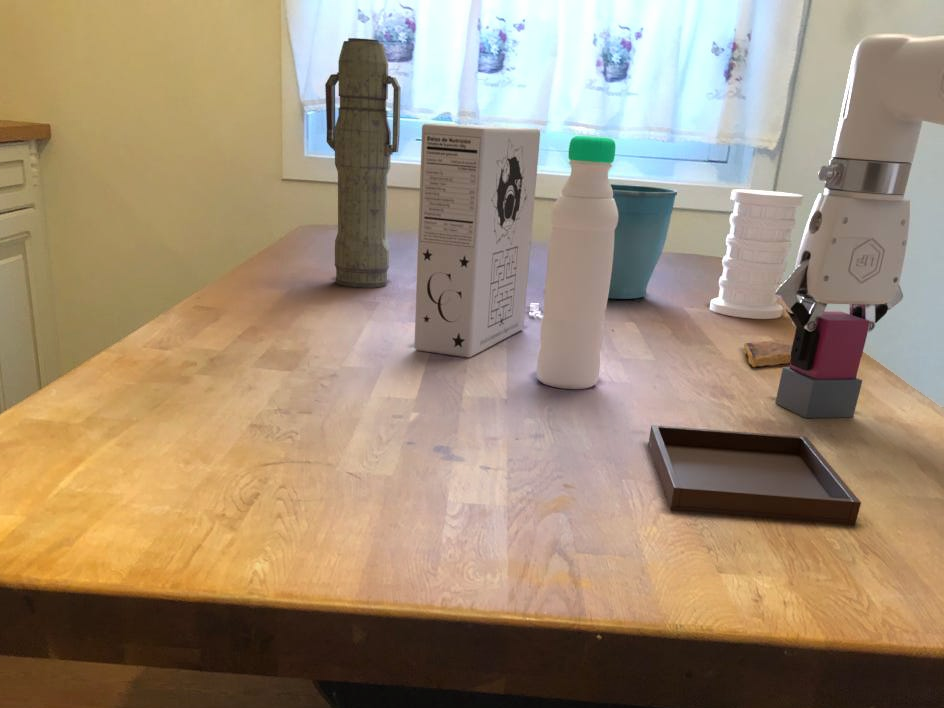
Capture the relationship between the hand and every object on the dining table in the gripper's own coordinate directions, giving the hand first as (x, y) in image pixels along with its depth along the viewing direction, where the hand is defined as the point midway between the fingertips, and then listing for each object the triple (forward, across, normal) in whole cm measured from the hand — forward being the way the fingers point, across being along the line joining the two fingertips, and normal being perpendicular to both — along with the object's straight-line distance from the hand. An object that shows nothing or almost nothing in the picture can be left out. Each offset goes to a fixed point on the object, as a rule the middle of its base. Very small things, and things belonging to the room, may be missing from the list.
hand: (823, 365), depth 105 cm
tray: (+5, -22, -22) cm, 31 cm away
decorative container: (+5, +25, +57) cm, 62 cm away
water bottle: (+5, -24, +13) cm, 28 cm away
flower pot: (+5, +7, +72) cm, 72 cm away
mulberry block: (+1, 0, 0) cm, 1 cm away
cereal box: (+5, -28, +36) cm, 46 cm away
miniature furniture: (+5, -17, +54) cm, 57 cm away
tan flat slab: (+5, +9, +22) cm, 25 cm away
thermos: (+5, -35, +80) cm, 87 cm away
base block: (+5, 0, 0) cm, 5 cm away
